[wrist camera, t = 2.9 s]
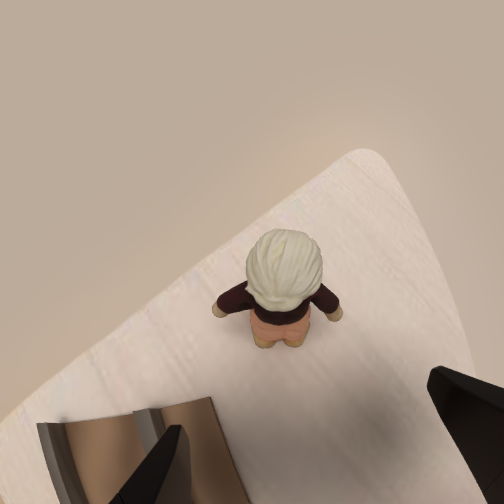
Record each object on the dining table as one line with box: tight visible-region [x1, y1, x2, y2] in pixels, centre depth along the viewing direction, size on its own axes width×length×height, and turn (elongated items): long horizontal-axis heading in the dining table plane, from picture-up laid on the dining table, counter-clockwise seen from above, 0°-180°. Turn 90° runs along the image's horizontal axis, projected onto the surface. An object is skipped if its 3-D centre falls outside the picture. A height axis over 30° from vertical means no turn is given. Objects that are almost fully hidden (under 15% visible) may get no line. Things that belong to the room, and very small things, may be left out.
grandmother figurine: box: [212, 229, 343, 348], centre depth 17 cm, size 8×4×13 cm, turn 99°
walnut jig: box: [36, 397, 250, 504], centre depth 15 cm, size 14×10×3 cm
